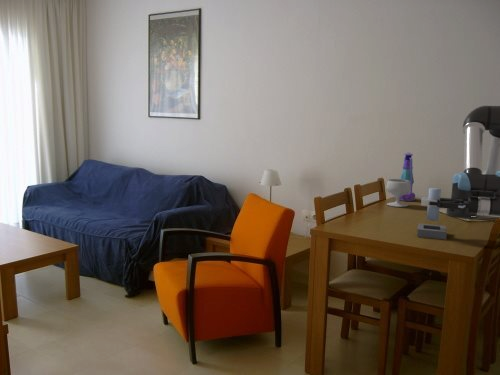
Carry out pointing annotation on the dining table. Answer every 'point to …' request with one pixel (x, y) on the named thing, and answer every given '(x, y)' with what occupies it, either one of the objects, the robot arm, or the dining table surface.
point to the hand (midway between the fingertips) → (421, 201)
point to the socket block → (431, 231)
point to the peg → (432, 210)
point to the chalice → (398, 190)
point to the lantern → (408, 177)
